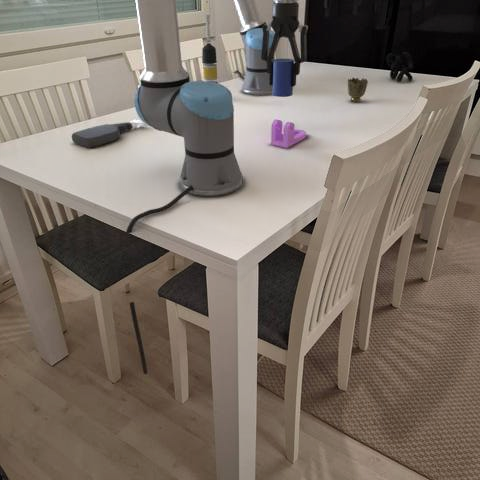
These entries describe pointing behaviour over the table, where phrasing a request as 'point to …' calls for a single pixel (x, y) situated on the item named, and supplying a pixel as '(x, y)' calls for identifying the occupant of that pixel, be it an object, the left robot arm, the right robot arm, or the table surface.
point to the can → (282, 77)
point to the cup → (357, 88)
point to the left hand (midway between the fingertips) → (282, 84)
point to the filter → (209, 57)
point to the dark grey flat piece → (103, 133)
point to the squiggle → (399, 66)
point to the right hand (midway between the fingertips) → (341, 15)
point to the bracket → (285, 134)
